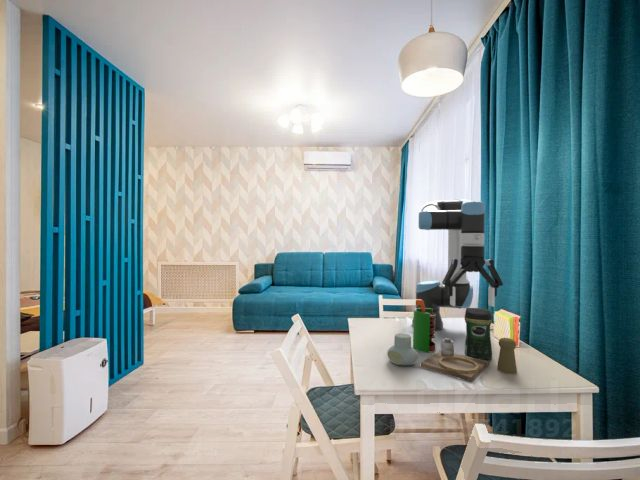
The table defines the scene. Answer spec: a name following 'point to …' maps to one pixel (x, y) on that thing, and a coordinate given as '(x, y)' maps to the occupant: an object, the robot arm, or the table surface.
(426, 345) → the motor
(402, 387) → the table surface
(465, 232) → the robot arm
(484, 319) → the coffee jar
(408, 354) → the air freshener
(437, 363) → the carrier board
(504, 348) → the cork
